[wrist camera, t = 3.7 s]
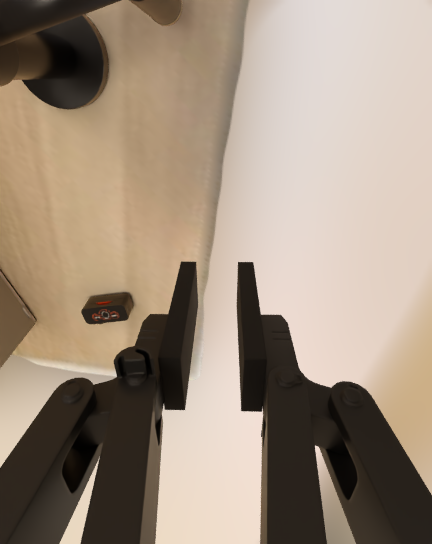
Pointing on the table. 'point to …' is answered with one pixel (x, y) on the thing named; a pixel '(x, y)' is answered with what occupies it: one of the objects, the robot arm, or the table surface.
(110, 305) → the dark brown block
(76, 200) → the table surface
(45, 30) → the round black base
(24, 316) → the laptop
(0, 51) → the crank handle
